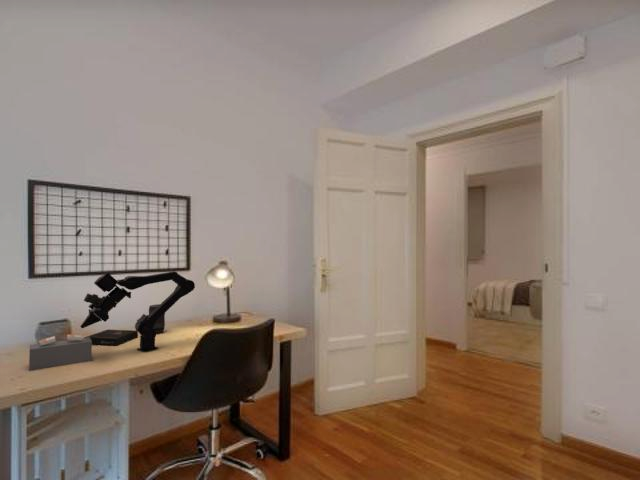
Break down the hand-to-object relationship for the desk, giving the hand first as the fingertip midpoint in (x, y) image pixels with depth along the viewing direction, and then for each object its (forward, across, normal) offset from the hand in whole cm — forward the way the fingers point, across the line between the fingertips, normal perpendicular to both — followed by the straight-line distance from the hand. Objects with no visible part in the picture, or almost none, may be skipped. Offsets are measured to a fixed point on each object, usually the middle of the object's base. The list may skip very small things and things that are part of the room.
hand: (81, 327), depth 150 cm
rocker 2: (+4, 0, +1) cm, 4 cm away
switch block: (+14, 0, +5) cm, 15 cm away
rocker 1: (+11, 0, -5) cm, 12 cm away
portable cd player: (-1, -26, +21) cm, 33 cm away
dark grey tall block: (-17, -31, +36) cm, 50 cm away
